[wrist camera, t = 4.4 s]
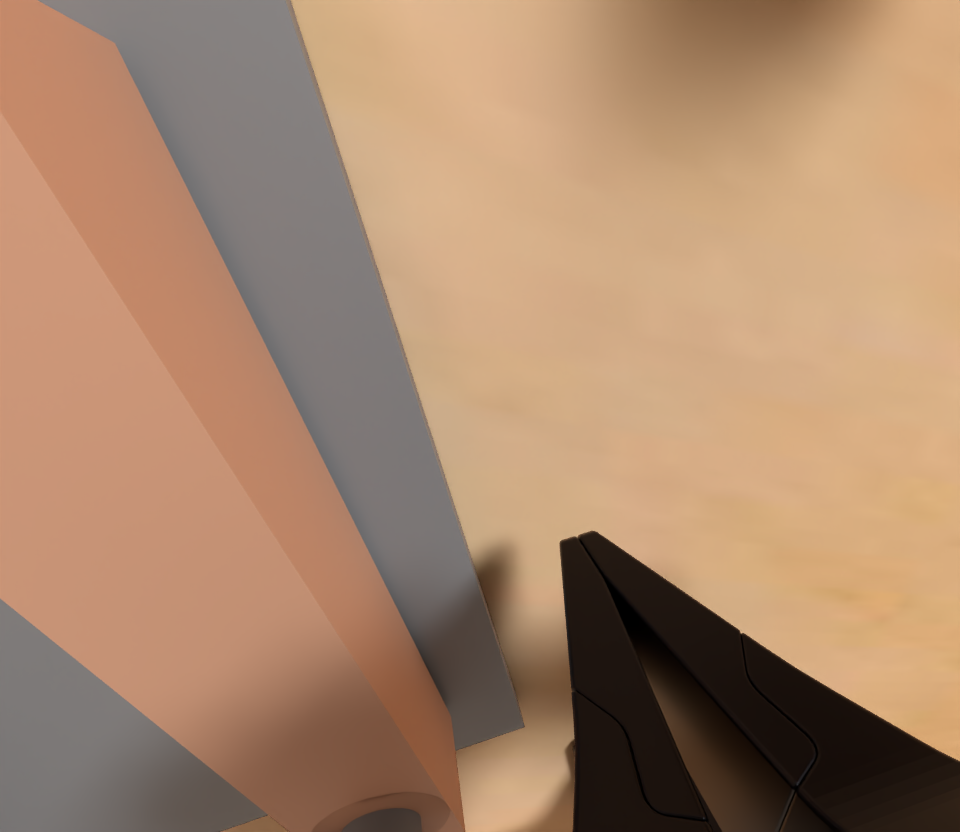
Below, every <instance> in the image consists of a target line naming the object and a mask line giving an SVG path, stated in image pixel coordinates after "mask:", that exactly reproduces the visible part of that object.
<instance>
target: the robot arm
mask: <svg viewBox="0 0 960 832" xmlns="http://www.w3.org/2000/svg"><path fill="white" fill-rule="evenodd" d="M560 556H561V568H562V580H563V592H564V604H565V616H566V629H567V641H568V653H569V665H570V677H571V688H572V704H573V718H574V738H575V745H574V746H573V753H574V757H575V782H574V809H573V832H960V761H958V760H956V759H954V758H952V757H950V756H948V755H946V754H944V753H942V752H940V751H938V750H936V749H935V748H933V747H931V746H929V745H927V744H925V743H924V742H922V741H920V740H918V739H917V738H915V737H913V736H911V735H910V734H908V733H906V732H905V731H903V730H901V729H899V728H898V727H896V726H894V725H892V724H891V723H889V722H887V721H886V720H884V719H882V718H880V717H879V716H877V715H875V714H873V713H872V712H870V711H868V710H866V709H865V708H863V707H861V706H860V705H858V704H856V703H854V702H853V701H851V700H849V699H847V698H846V697H844V696H842V695H841V694H839V693H837V692H835V691H834V690H832V689H830V688H829V687H827V686H825V685H824V684H822V683H820V682H819V681H817V680H815V679H814V678H812V677H810V676H809V675H807V674H805V673H804V672H802V671H800V670H799V669H797V668H795V667H794V666H792V665H791V664H789V663H788V662H786V661H785V660H783V659H782V658H780V657H778V656H777V655H775V654H774V653H772V652H771V651H769V650H768V649H766V648H765V647H763V646H762V645H760V644H759V643H757V642H756V641H755V640H753V639H752V638H750V637H749V636H747V635H746V634H744V633H742V634H741V633H740V630H738V629H737V628H736V627H734V626H733V625H731V624H730V623H728V622H727V621H725V620H724V619H722V618H721V617H720V616H718V615H717V614H715V613H714V612H712V611H711V610H709V609H708V608H707V607H705V606H704V605H702V604H701V603H699V602H698V601H696V600H695V599H693V598H692V597H691V596H689V595H688V594H686V593H685V592H683V591H682V590H680V589H679V588H677V587H676V586H675V585H673V584H672V583H670V582H669V581H667V580H666V579H664V578H663V577H661V576H660V575H659V574H657V573H656V572H654V571H653V570H651V569H650V568H648V567H647V566H645V565H644V564H643V563H641V562H640V561H638V560H637V559H635V558H634V557H632V556H631V555H630V554H628V553H627V552H625V551H624V550H622V549H621V548H619V547H618V546H616V545H615V544H614V543H612V542H611V541H609V540H608V539H606V538H605V537H603V536H602V535H600V534H599V533H598V532H596V531H590V532H587V533H583V534H580V535H578V537H571V538H567V539H564V540H561V541H560Z"/></svg>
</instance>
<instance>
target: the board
mask: <svg viewBox="0 0 960 832" xmlns="http://www.w3.org/2000/svg"><path fill="white" fill-rule="evenodd" d="M38 1H40V2H41V3H43V4H45V5H47V6H49V7H51V8H52V9H54V10H56V11H58V12H60V13H61V14H63V15H65V16H67V17H69V18H70V19H72V20H74V21H76V22H78V23H80V24H81V25H83V26H85V27H87V28H89V29H90V30H92V31H94V32H96V33H98V34H99V35H101V36H103V37H105V38H107V39H109V40H110V41H112V42H114V43H115V44H116V46H117V48H118V50H119V52H120V54H121V56H122V58H123V61H124V63H125V65H126V67H127V69H128V71H129V73H130V75H131V77H132V79H133V81H134V83H135V85H136V87H137V89H138V91H139V93H140V95H141V97H142V99H143V101H144V103H145V105H146V107H147V109H148V111H149V113H150V115H151V117H152V119H153V121H154V123H155V125H156V127H157V129H158V131H159V133H160V135H161V137H162V139H163V141H164V143H165V145H166V147H167V149H168V151H169V153H170V155H171V157H172V159H173V161H174V163H175V165H176V167H177V169H178V171H179V173H180V175H181V177H182V179H183V181H184V183H185V185H186V187H187V189H188V191H189V193H190V195H191V197H192V199H193V201H194V203H195V205H196V207H197V209H198V211H199V213H200V215H201V217H202V219H203V221H204V223H205V225H206V227H207V229H208V231H209V233H210V235H211V237H212V239H213V241H214V243H215V245H216V247H217V249H218V251H219V253H220V255H221V257H222V259H223V261H224V263H225V265H226V267H227V269H228V271H229V273H230V275H231V277H232V279H233V281H234V283H235V285H236V287H237V289H238V291H239V293H240V295H241V297H242V299H243V301H244V303H245V305H246V307H247V309H248V311H249V313H250V315H251V317H252V319H253V321H254V323H255V325H256V327H257V329H258V331H259V333H260V335H261V337H262V339H263V341H264V343H265V345H266V347H267V349H268V351H269V353H270V355H271V357H272V359H273V361H274V363H275V365H276V367H277V369H278V371H279V373H280V375H281V377H282V379H283V381H284V383H285V385H286V387H287V389H288V391H289V393H290V395H291V397H292V399H293V401H294V403H295V405H296V407H297V409H298V411H299V413H300V415H301V417H302V419H303V421H304V423H305V425H306V427H307V429H308V431H309V433H310V435H311V437H312V439H313V441H314V443H315V445H316V447H317V449H318V451H319V453H320V455H321V457H322V459H323V461H324V463H325V465H326V467H327V469H328V471H329V473H330V475H331V477H332V479H333V481H334V483H335V485H336V487H337V489H338V491H339V493H340V495H341V497H342V499H343V501H344V503H345V505H346V507H347V509H348V511H349V513H350V515H351V517H352V519H353V521H354V523H355V525H356V527H357V529H358V531H359V533H360V535H361V537H362V539H363V541H364V543H365V545H366V547H367V549H368V551H369V553H370V555H371V557H372V559H373V561H374V563H375V565H376V567H377V569H378V571H379V573H380V575H381V577H382V579H383V581H384V583H385V585H386V587H387V589H388V591H389V593H390V595H391V597H392V599H393V601H394V603H395V605H396V607H397V609H398V611H399V613H400V615H401V617H402V619H403V621H404V623H405V625H406V627H407V629H408V631H409V633H410V635H411V637H412V639H413V641H414V643H415V645H416V647H417V649H418V651H419V653H420V655H421V657H422V659H423V661H424V663H425V665H426V667H427V669H428V671H429V673H430V675H431V677H432V679H433V681H434V683H435V685H436V687H437V689H438V691H439V693H440V695H441V697H442V699H443V701H444V703H445V705H446V707H447V709H448V711H449V713H450V715H451V720H452V728H453V736H454V744H455V751H456V750H459V749H462V748H465V747H468V746H471V745H474V744H477V743H479V742H482V741H485V740H488V739H491V738H494V737H497V736H500V735H503V734H506V733H509V732H511V731H514V730H517V729H520V728H523V727H525V726H524V723H523V719H522V715H521V711H520V707H519V703H518V700H517V696H516V693H515V690H514V687H513V684H512V681H511V678H510V675H509V672H508V669H507V666H506V663H505V659H504V656H503V653H502V650H501V647H500V644H499V641H498V638H497V635H496V632H495V629H494V626H493V623H492V619H491V616H490V613H489V610H488V607H487V604H486V601H485V598H484V595H483V592H482V589H481V586H480V583H479V579H478V576H477V573H476V570H475V567H474V564H473V561H472V558H471V555H470V552H469V549H468V546H467V543H466V539H465V536H464V533H463V530H462V527H461V524H460V521H459V518H458V515H457V512H456V509H455V506H454V502H453V499H452V496H451V493H450V490H449V487H448V484H447V481H446V478H445V475H444V472H443V469H442V466H441V462H440V459H439V456H438V453H437V450H436V447H435V444H434V441H433V438H432V435H431V432H430V429H429V426H428V422H427V419H426V416H425V413H424V410H423V407H422V404H421V401H420V398H419V395H418V392H417V389H416V385H415V382H414V379H413V376H412V373H411V370H410V367H409V364H408V361H407V358H406V355H405V352H404V349H403V345H402V342H401V339H400V336H399V333H398V330H397V327H396V324H395V321H394V318H393V315H392V312H391V309H390V305H389V302H388V299H387V296H386V293H385V290H384V287H383V284H382V281H381V278H380V275H379V272H378V268H377V265H376V262H375V259H374V256H373V253H372V250H371V247H370V244H369V241H368V238H367V235H366V232H365V228H364V225H363V222H362V219H361V216H360V213H359V210H358V207H357V204H356V201H355V198H354V195H353V192H352V188H351V185H350V182H349V179H348V176H347V173H346V170H345V167H344V164H343V161H342V158H341V155H340V152H339V148H338V145H337V142H336V139H335V136H334V133H333V130H332V127H331V124H330V121H329V118H328V115H327V111H326V108H325V105H324V102H323V99H322V96H321V93H320V90H319V87H318V84H317V81H316V78H315V75H314V71H313V68H312V65H311V62H310V59H309V56H308V53H307V50H306V47H305V44H304V41H303V38H302V35H301V31H300V28H299V25H298V22H297V19H296V16H295V13H294V10H293V7H292V4H291V1H290V0H38ZM267 815H268V814H266V813H265V812H264V811H263V810H262V809H260V808H259V807H258V806H257V805H255V804H254V803H253V802H252V801H250V800H249V799H248V798H247V797H245V796H244V795H243V794H242V793H240V792H239V791H238V790H237V789H236V788H234V787H233V786H232V785H231V784H229V783H228V782H227V781H226V780H224V779H223V778H222V777H221V776H219V775H218V774H217V773H216V772H214V771H213V770H212V769H211V768H210V767H208V766H207V765H206V764H205V763H203V762H202V761H201V760H200V759H198V758H197V757H196V756H195V755H193V754H192V753H191V752H190V751H188V750H187V749H186V748H185V747H184V746H182V745H181V744H180V743H179V742H177V741H176V740H175V739H174V738H172V737H171V736H170V735H169V734H167V733H166V732H165V731H164V730H162V729H161V728H160V727H159V726H157V725H156V724H155V723H154V722H153V721H151V720H150V719H149V718H148V717H146V716H145V715H144V714H143V713H141V712H140V711H139V710H138V709H136V708H135V707H134V706H133V705H131V704H130V703H129V702H128V701H127V700H125V699H124V698H123V697H122V696H120V695H119V694H118V693H117V692H115V691H114V690H113V689H112V688H110V687H109V686H108V685H107V684H105V683H104V682H103V681H102V680H101V679H99V678H98V677H97V676H96V675H94V674H93V673H92V672H91V671H89V670H88V669H87V668H86V667H84V666H83V665H82V664H81V663H79V662H78V661H77V660H76V659H75V658H73V657H72V656H71V655H70V654H68V653H67V652H66V651H65V650H63V649H62V648H61V647H60V646H58V645H57V644H56V643H55V642H53V641H52V640H51V639H50V638H48V637H47V636H46V635H45V634H44V633H42V632H41V631H40V630H39V629H37V628H36V627H35V626H34V625H32V624H31V623H30V622H29V621H27V620H26V619H25V618H24V617H22V616H21V615H20V614H19V613H18V612H16V611H15V610H14V609H13V608H11V607H10V606H9V605H8V604H6V603H5V602H4V601H3V600H1V599H0V832H220V831H223V830H226V829H229V828H232V827H235V826H238V825H241V824H244V823H247V822H249V821H252V820H255V819H258V818H261V817H264V816H267Z"/></svg>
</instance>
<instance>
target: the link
mask: <svg viewBox="0 0 960 832" xmlns="http://www.w3.org/2000/svg"><path fill="white" fill-rule="evenodd" d="M0 599H1V600H3V601H4V602H5V603H6V604H8V605H9V606H10V607H11V608H13V609H14V610H15V611H16V612H18V613H19V614H20V615H21V616H22V617H24V618H25V619H26V620H27V621H29V622H30V623H31V624H32V625H34V626H35V627H36V628H37V629H39V630H40V631H41V632H42V633H44V634H45V635H46V636H47V637H48V638H50V639H51V640H52V641H53V642H55V643H56V644H57V645H58V646H60V647H61V648H62V649H63V650H65V651H66V652H67V653H68V654H70V655H71V656H72V657H73V658H75V659H76V660H77V661H78V662H79V663H81V664H82V665H83V666H84V667H86V668H87V669H88V670H89V671H91V672H92V673H93V674H94V675H96V676H97V677H98V678H99V679H101V680H102V681H103V682H104V683H105V684H107V685H108V686H109V687H110V688H112V689H113V690H114V691H115V692H117V693H118V694H119V695H120V696H122V697H123V698H124V699H125V700H127V701H128V702H129V703H130V704H131V705H133V706H134V707H135V708H136V709H138V710H139V711H140V712H141V713H143V714H144V715H145V716H146V717H148V718H149V719H150V720H151V721H153V722H154V723H155V724H156V725H157V726H159V727H160V728H161V729H162V730H164V731H165V732H166V733H167V734H169V735H170V736H171V737H172V738H174V739H175V740H176V741H177V742H179V743H180V744H181V745H182V746H184V747H185V748H186V749H187V750H188V751H190V752H191V753H192V754H193V755H195V756H196V757H197V758H198V759H200V760H201V761H202V762H203V763H205V764H206V765H207V766H208V767H210V768H211V769H212V770H213V771H214V772H216V773H217V774H218V775H219V776H221V777H222V778H223V779H224V780H226V781H227V782H228V783H229V784H231V785H232V786H233V787H234V788H236V789H237V790H238V791H239V792H240V793H242V794H243V795H244V796H245V797H247V798H248V799H249V800H250V801H252V802H253V803H254V804H255V805H257V806H258V807H259V808H260V809H262V810H263V811H264V812H265V813H266V814H268V815H269V816H270V817H271V818H273V819H274V820H275V821H276V822H278V823H279V824H280V825H281V826H283V827H284V828H285V829H286V830H288V831H289V832H465V825H464V817H463V809H462V801H461V792H460V784H459V776H458V768H457V760H456V752H455V744H454V736H453V728H452V720H451V715H450V713H449V711H448V709H447V707H446V705H445V703H444V701H443V699H442V697H441V695H440V693H439V691H438V689H437V687H436V685H435V683H434V681H433V679H432V677H431V675H430V673H429V671H428V669H427V667H426V665H425V663H424V661H423V659H422V657H421V655H420V653H419V651H418V649H417V647H416V645H415V643H414V641H413V639H412V637H411V635H410V633H409V631H408V629H407V627H406V625H405V623H404V621H403V619H402V617H401V615H400V613H399V611H398V609H397V607H396V605H395V603H394V601H393V599H392V597H391V595H390V593H389V591H388V589H387V587H386V585H385V583H384V581H383V579H382V577H381V575H380V573H379V571H378V569H377V567H376V565H375V563H374V561H373V559H372V557H371V555H370V553H369V551H368V549H367V547H366V545H365V543H364V541H363V539H362V537H361V535H360V533H359V531H358V529H357V527H356V525H355V523H354V521H353V519H352V517H351V515H350V513H349V511H348V509H347V507H346V505H345V503H344V501H343V499H342V497H341V495H340V493H339V491H338V489H337V487H336V485H335V483H334V481H333V479H332V477H331V475H330V473H329V471H328V469H327V467H326V465H325V463H324V461H323V459H322V457H321V455H320V453H319V451H318V449H317V447H316V445H315V443H314V441H313V439H312V437H311V435H310V433H309V431H308V429H307V427H306V425H305V423H304V421H303V419H302V417H301V415H300V413H299V411H298V409H297V407H296V405H295V403H294V401H293V399H292V397H291V395H290V393H289V391H288V389H287V387H286V385H285V383H284V381H283V379H282V377H281V375H280V373H279V371H278V369H277V367H276V365H275V363H274V361H273V359H272V357H271V355H270V353H269V351H268V349H267V347H266V345H265V343H264V341H263V339H262V337H261V335H260V333H259V331H258V329H257V327H256V325H255V323H254V321H253V319H252V317H251V315H250V313H249V311H248V309H247V307H246V305H245V303H244V301H243V299H242V297H241V295H240V293H239V291H238V289H237V287H236V285H235V283H234V281H233V279H232V277H231V275H230V273H229V271H228V269H227V267H226V265H225V263H224V261H223V259H222V257H221V255H220V253H219V251H218V249H217V247H216V245H215V243H214V241H213V239H212V237H211V235H210V233H209V231H208V229H207V227H206V225H205V223H204V221H203V219H202V217H201V215H200V213H199V211H198V209H197V207H196V205H195V203H194V201H193V199H192V197H191V195H190V193H189V191H188V189H187V187H186V185H185V183H184V181H183V179H182V177H181V175H180V173H179V171H178V169H177V167H176V165H175V163H174V161H173V159H172V157H171V155H170V153H169V151H168V149H167V147H166V145H165V143H164V141H163V139H162V137H161V135H160V133H159V131H158V129H157V127H156V125H155V123H154V121H153V119H152V117H151V115H150V113H149V111H148V109H147V107H146V105H145V103H144V101H143V99H142V97H141V95H140V93H139V91H138V89H137V87H136V85H135V83H134V81H133V79H132V77H131V75H130V73H129V71H128V69H127V67H126V65H125V63H124V61H123V58H122V56H121V54H120V52H119V50H118V48H117V46H116V44H115V43H114V42H112V41H110V40H109V39H107V38H105V37H103V36H101V35H99V34H98V33H96V32H94V31H92V30H90V29H89V28H87V27H85V26H83V25H81V24H80V23H78V22H76V21H74V20H72V19H70V18H69V17H67V16H65V15H63V14H61V13H60V12H58V11H56V10H54V9H52V8H51V7H49V6H47V5H45V4H43V3H41V2H40V1H38V0H0Z"/></svg>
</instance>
